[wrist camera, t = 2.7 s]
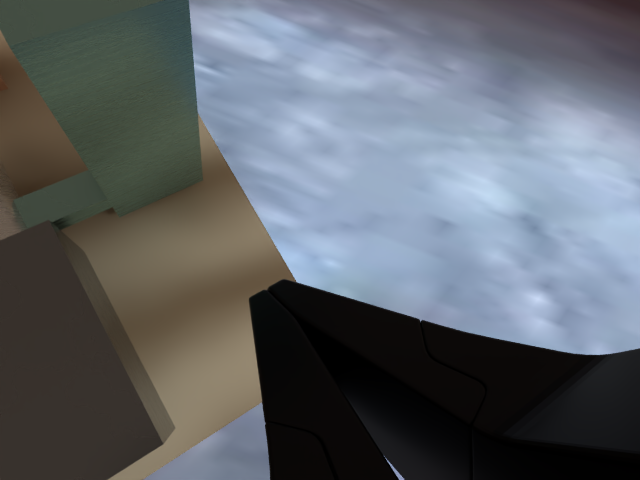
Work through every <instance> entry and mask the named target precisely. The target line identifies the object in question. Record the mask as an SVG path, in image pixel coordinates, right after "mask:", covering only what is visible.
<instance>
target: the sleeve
mask: <svg viewBox="0 0 640 480" xmlns="http://www.w3.org/2000/svg"><path fill="white" fill-rule="evenodd" d="M174 430H175V426H174V424H173V422H172V420H171V418H170V416H169V414H168V412H167V410H166V408H165V406H164V404H163V402H162V400H161V399H160V397H159V395H158V393H157V391H156V389H155V387H154V385H153V383H152V381H151V379H150V377H149V375H148V373H147V371H146V370H145V368H144V366H143V364H142V362H141V360H140V358H139V356H138V354H137V352H136V350H135V348H134V346H133V344H132V342H131V341H130V339H129V337H128V335H127V333H126V331H125V329H124V327H123V325H122V323H121V321H120V319H119V317H118V315H117V313H116V312H115V310H114V308H113V306H112V304H111V302H110V300H109V298H108V296H107V294H106V292H105V290H104V288H103V286H102V285H101V283H100V281H99V279H98V277H97V275H96V273H95V271H94V269H93V267H92V265H91V263H90V261H89V259H88V257H87V256H86V254H85V252H84V251H83V250H82V249H81V248H80V247H79V246H78V245H77V244H75V243H74V242H73V241H72V240H71V239H70V238H69V237H68V236H67V235H65V234H64V233H63V232H62V231H61V230H60V229H59V228H58V227H56V226H55V225H54V224H53V223H52V222H51V221H50V220H47V221H45V222H42V223H40V224H38V225H35V226H33V227H31V228H28V229H26V230H23V231H21V232H19V233H16V234H14V235H12V236H9V237H7V238H5V239H2V240H0V480H108V479H109V478H111V477H113V476H114V475H116V474H117V473H119V472H120V471H122V470H124V469H125V468H127V467H128V466H130V465H132V464H133V463H135V462H136V461H138V460H139V459H141V458H143V457H144V456H146V455H147V454H149V453H150V452H152V451H154V450H155V449H157V448H158V447H160V446H162V445H163V444H164V443H165V442H166V440H167V439H168V438H169V436H170V435H171V434H172V432H173V431H174Z"/></svg>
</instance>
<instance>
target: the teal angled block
mask: <svg viewBox="0 0 640 480" xmlns="http://www.w3.org/2000/svg"><path fill="white" fill-rule="evenodd" d="M0 30H1V32H2V34H3V36H4V38H5V40H6V42H7V44H8V45H9V47H10V49H11V50H12V52H13V53H14V55H15V56H16V58H17V59H18V61H19V63H20V64H21V66H22V67H23V69H24V70H25V72H26V73H27V75H28V77H29V78H30V80H31V81H32V83H33V84H34V86H35V87H36V89H37V91H38V92H39V94H40V95H41V97H42V98H43V100H44V101H45V103H46V105H47V106H48V108H49V109H50V111H51V112H52V114H53V115H54V117H55V119H56V120H57V122H58V123H59V125H60V126H61V128H62V129H63V131H64V132H65V134H66V136H67V137H68V139H69V140H70V142H71V143H72V145H73V146H74V148H75V150H76V151H77V153H78V154H79V156H80V157H81V159H82V160H83V162H84V164H85V165H86V167H87V168H88V170H87V171H84V172H82V173H79V174H77V175H74V176H72V177H69V178H67V179H64V180H62V181H59V182H57V183H54V184H52V185H49V186H47V187H44V188H42V189H39V190H37V191H34V192H32V193H29V194H27V195H24V196H22V197H19V196H18V194H17V192H16V190H15V188H14V186H13V184H12V182H11V180H10V178H9V176H8V174H7V172H6V170H5V168H4V166H3V164H2V162H1V160H0V240H2V239H5V238H7V237H9V236H12V235H14V234H16V233H19V232H21V231H23V230H26V229H28V228H31V227H33V226H35V225H38V224H40V223H42V222H45V221H47V220H50V221H51V222H52V223H53V224H54V225H55V226H56V227H58V228H59V229H60V230H62V229H64V228H66V227H69V226H71V225H73V224H76V223H78V222H80V221H83V220H85V219H87V218H89V217H92V216H94V215H96V214H99V213H101V212H103V211H106V210H108V209H110V208H112V207H113V209H114V210H115V212H116V213H117V215H118V216H119V218H120V217H122V216H124V215H126V214H129V213H131V212H133V211H135V210H138V209H140V208H142V207H144V206H147V205H149V204H151V203H153V202H156V201H158V200H160V199H162V198H165V197H167V196H169V195H171V194H174V193H176V192H178V191H180V190H183V189H185V188H187V187H189V186H192V185H194V184H196V183H198V182H201V181H203V173H202V161H201V148H200V136H199V123H198V111H197V98H196V86H195V73H194V60H193V48H192V35H191V23H190V10H189V0H0Z"/></svg>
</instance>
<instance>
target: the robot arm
mask: <svg viewBox="0 0 640 480" xmlns="http://www.w3.org/2000/svg"><path fill="white" fill-rule="evenodd" d="M249 307H250V315H251V322H252V330H253V337H254V345H255V352H256V359H257V367H258V374H259V382H260V389H261V397H262V404H263V412H264V419H265V423H266V424H265V429H266V436H267V444H268V455H269V465H270V480H399V479H398V477H397V476H396V474H395V473H394V471H393V470H392V468H391V466H390V465H389V463H388V462H387V460H388V461H389V462H390V463H391V464H392V465H393V467H394V468H395V469H396V470H397V471H398V472H399V473H400V475H401V476H402V477H403V478H404V479H405V480H640V349H635V350H629V351H624V352H619V353H613V354H605V355H583V354H573V353H567V352H561V351H556V350H551V349H546V348H541V347H535V346H530V345H525V344H520V343H515V342H510V341H505V340H500V339H495V338H490V337H486V336H481V335H477V334H472V333H468V332H464V331H460V330H456V329H453V328H449V327H445V326H441V325H438V324H435V323H431V322H428V321H425V320H422V321H421V323H420V320H419V319H417V318H414V317H411V316H407V315H404V314H401V313H397V312H394V311H391V310H387V309H384V308H381V307H377V306H374V305H371V304H367V303H364V302H361V301H357V300H354V299H350V298H347V297H344V296H340V295H337V294H334V293H330V292H327V291H324V290H320V289H317V288H314V287H310V286H307V285H304V284H300V283H297V282H294V281H290V280H287V279H282V280H280V281H278V282H276V283H274V284H272V285H270V286H269V287H268V289H267V290H265V289H264V290H261V291H260V292H258V293H256V294H254V295H252V296H251V297H250V298H249ZM384 456H385V457H386V459H387V460H386V459H385V457H384Z"/></svg>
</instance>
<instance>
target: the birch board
mask: <svg viewBox="0 0 640 480" xmlns="http://www.w3.org/2000/svg"><path fill="white" fill-rule="evenodd" d="M0 74H1V76H2V78H3V79H4V81H5V83H6V85H7V87H8V89H6V90H3V91H0V160H1V162H2V164H3V166H4V168H5V170H6V172H7V174H8V176H9V178H10V180H11V182H12V184H13V186H14V188H15V190H16V192H17V194H18V196H19V197H22V196H24V195H27V194H29V193H32V192H34V191H37V190H39V189H42V188H44V187H47V186H49V185H52V184H54V183H57V182H59V181H62V180H64V179H67V178H69V177H72V176H74V175H77V174H79V173H82V172H84V171H87V170H88V168H87V167H86V165H85V164H84V162H83V160H82V159H81V157H80V156H79V154H78V153H77V151H76V150H75V148H74V146H73V145H72V143H71V142H70V140H69V139H68V137H67V136H66V134H65V132H64V131H63V129H62V128H61V126H60V125H59V123H58V122H57V120H56V119H55V117H54V115H53V114H52V112H51V111H50V109H49V108H48V106H47V105H46V103H45V101H44V100H43V98H42V97H41V95H40V94H39V92H38V91H37V89H36V87H35V86H34V84H33V83H32V81H31V80H30V78H29V77H28V75H27V73H26V72H25V70H24V69H23V67H22V66H21V64H20V63H19V61H18V59H17V58H16V56H15V55H14V53H13V52H12V50H11V49H10V47H9V45H8V44H7V42H6V40H5V38H4V36H3V34H2V32H1V30H0ZM198 123H199V136H200V148H201V161H202V173H203V181H201V182H198V183H196V184H194V185H192V186H189V187H187V188H185V189H183V190H180V191H178V192H176V193H174V194H171V195H169V196H167V197H165V198H162V199H160V200H158V201H156V202H153V203H151V204H149V205H147V206H144V207H142V208H140V209H138V210H135V211H133V212H131V213H129V214H126V215H124V216H122V217H120V218H119V216H118V215H117V213H116V212H115V210H114V209H113V207H112V208H110V209H108V210H106V211H103V212H101V213H99V214H96V215H94V216H92V217H89V218H87V219H85V220H83V221H80V222H78V223H76V224H73V225H71V226H69V227H66V228H64V229H62V230H61V231H62V232H63V233H64V234H65V235H67V236H68V237H69V238H70V239H71V240H72V241H73V242H74V243H75V244H77V245H78V246H79V247H80V248H81V249H82V250H83V251H84V252H85V254H86V256H87V257H88V259H89V261H90V263H91V265H92V267H93V269H94V271H95V273H96V275H97V277H98V279H99V281H100V283H101V285H102V286H103V288H104V290H105V292H106V294H107V296H108V298H109V300H110V302H111V304H112V306H113V308H114V310H115V312H116V313H117V315H118V317H119V319H120V321H121V323H122V325H123V327H124V329H125V331H126V333H127V335H128V337H129V339H130V341H131V342H132V344H133V346H134V348H135V350H136V352H137V354H138V356H139V358H140V360H141V362H142V364H143V366H144V368H145V370H146V371H147V373H148V375H149V377H150V379H151V381H152V383H153V385H154V387H155V389H156V391H157V393H158V395H159V397H160V399H161V400H162V402H163V404H164V406H165V408H166V410H167V412H168V414H169V416H170V418H171V420H172V422H173V424H174V426H175V430H174V431H173V432H172V434H171V435H170V436H169V438H168V439H167V440H166V442H165V443H164V444H163V445H162V446H160V447H158V448H157V449H155V450H154V451H152V452H150V453H149V454H147V455H146V456H144V457H143V458H141V459H139V460H138V461H136V462H135V463H133V464H132V465H130V466H128V467H127V468H125V469H124V470H122V471H120V472H119V473H117V474H116V475H114V476H113V477H111V478H109V479H108V480H143V479H144V478H146V477H147V476H149V475H150V474H152V473H153V472H155V471H157V470H158V469H160V468H161V467H163V466H164V465H166V464H167V463H169V462H170V461H172V460H173V459H175V458H177V457H178V456H180V455H181V454H183V453H184V452H186V451H187V450H189V449H190V448H192V447H193V446H195V445H197V444H198V443H200V442H201V441H203V440H204V439H206V438H207V437H209V436H210V435H212V434H214V433H215V432H217V431H218V430H220V429H221V428H223V427H224V426H226V425H227V424H229V423H230V422H232V421H234V420H235V419H237V418H238V417H240V416H241V415H243V414H244V413H246V412H247V411H249V410H250V409H252V408H254V407H255V406H257V405H258V404H260V403H261V402H262V397H261V389H260V382H259V374H258V367H257V359H256V352H255V345H254V337H253V330H252V322H251V315H250V307H249V298H250V297H251V296H252V295H254V294H256V293H258V292H260V291H261V290H264V289H265V290H267V289H268V287H269V286H270V285H272V284H274V283H276V282H278V281H280V280H282V279H287V280H290V281H294V282H296V280H295V278H294V277H293V275H292V273H291V272H290V270H289V268H288V267H287V265H286V263H285V261H284V260H283V258H282V256H281V255H280V253H279V251H278V249H277V248H276V246H275V244H274V243H273V241H272V239H271V237H270V236H269V234H268V232H267V231H266V229H265V227H264V226H263V224H262V222H261V220H260V219H259V217H258V215H257V214H256V212H255V210H254V208H253V207H252V205H251V203H250V202H249V200H248V198H247V196H246V195H245V193H244V191H243V190H242V188H241V186H240V185H239V183H238V181H237V179H236V178H235V176H234V174H233V173H232V171H231V169H230V167H229V166H228V164H227V162H226V161H225V159H224V157H223V155H222V154H221V152H220V150H219V149H218V147H217V145H216V144H215V142H214V140H213V138H212V137H211V135H210V133H209V132H208V130H207V128H206V126H205V125H204V123H203V121H202V120H201V118H200V116H199V114H198Z"/></svg>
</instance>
